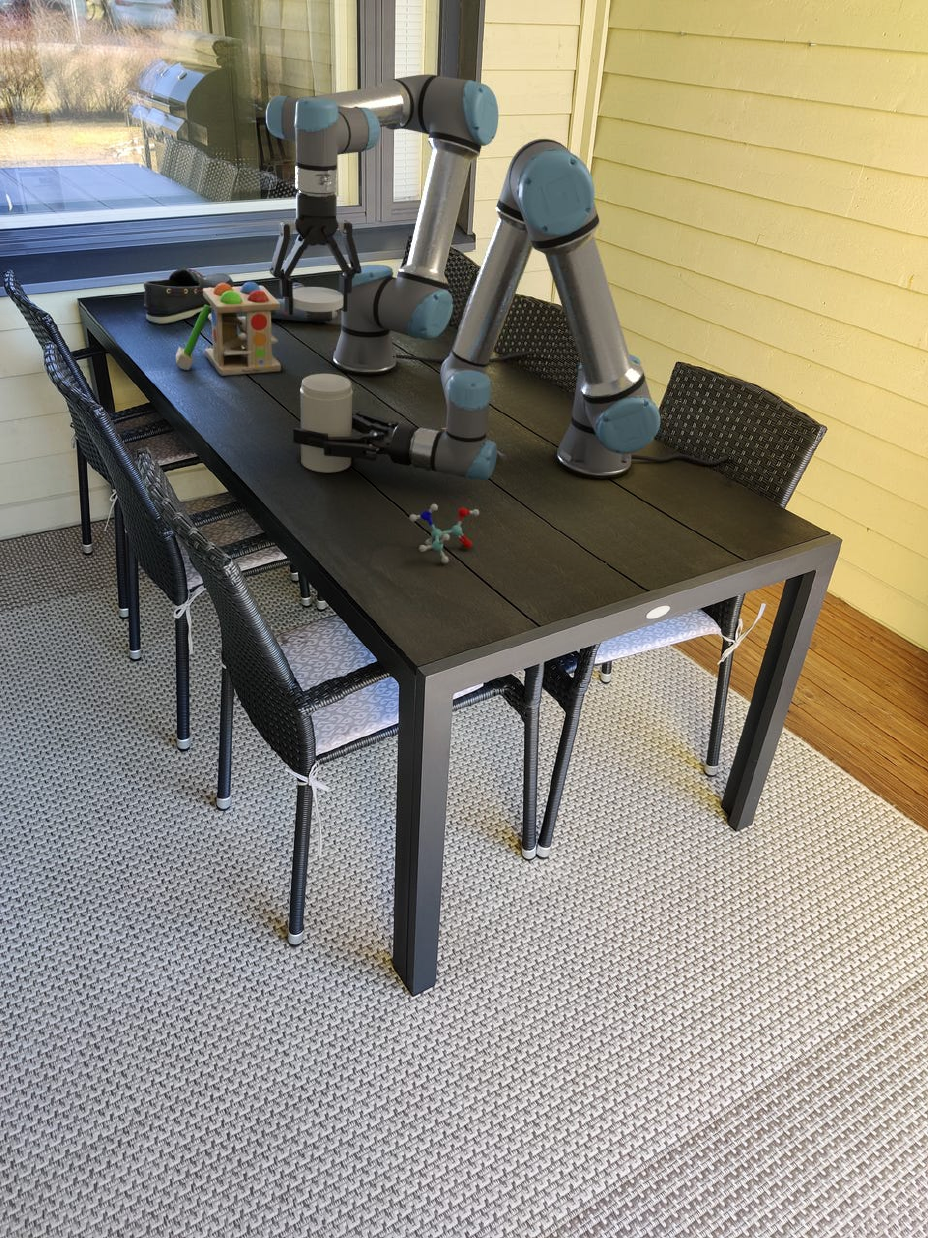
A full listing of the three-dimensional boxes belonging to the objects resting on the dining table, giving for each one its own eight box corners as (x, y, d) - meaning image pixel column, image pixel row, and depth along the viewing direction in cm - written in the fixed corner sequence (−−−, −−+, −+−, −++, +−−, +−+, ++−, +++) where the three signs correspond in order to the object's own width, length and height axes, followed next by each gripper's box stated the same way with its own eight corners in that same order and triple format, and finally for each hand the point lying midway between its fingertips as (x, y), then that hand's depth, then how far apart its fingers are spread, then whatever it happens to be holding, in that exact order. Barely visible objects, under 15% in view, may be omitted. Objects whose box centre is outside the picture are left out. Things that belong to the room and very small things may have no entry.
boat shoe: (253, 302, 272) (251, 263, 267) (163, 325, 248) (159, 283, 243) (219, 293, 278) (216, 255, 272) (128, 316, 254) (123, 274, 248)
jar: (341, 476, 188) (343, 395, 179) (293, 467, 189) (292, 387, 180) (357, 455, 196) (359, 377, 187) (311, 447, 197) (311, 369, 188)
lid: (351, 310, 192) (351, 301, 191) (298, 313, 187) (298, 304, 186) (332, 294, 199) (332, 285, 198) (282, 296, 195) (281, 287, 194)
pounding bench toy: (183, 379, 220) (176, 299, 210) (169, 357, 231) (162, 280, 221) (282, 371, 230) (280, 294, 220) (264, 350, 240) (262, 276, 230)
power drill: (344, 304, 276) (335, 327, 259) (277, 298, 275) (264, 321, 258) (344, 285, 273) (335, 306, 256) (277, 279, 272) (264, 300, 255)
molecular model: (470, 557, 159) (450, 498, 158) (419, 572, 163) (399, 515, 161) (491, 545, 170) (472, 489, 168) (442, 560, 173) (424, 506, 172)
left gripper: (262, 197, 174) (265, 320, 187) (381, 195, 184) (377, 313, 196) (249, 188, 180) (253, 308, 192) (366, 187, 189) (363, 302, 202)
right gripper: (394, 489, 178) (281, 465, 183) (431, 442, 197) (327, 422, 201) (396, 451, 174) (280, 428, 178) (433, 407, 192) (328, 387, 196)
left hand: (316, 311), depth 194 cm, fingers closed on lid, 10 cm apart
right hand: (305, 425), depth 190 cm, fingers closed on jar, 10 cm apart
